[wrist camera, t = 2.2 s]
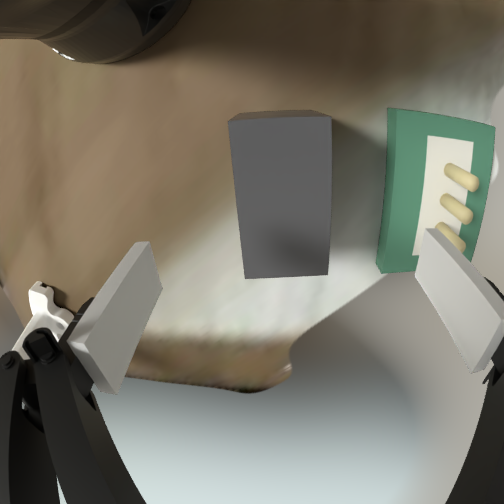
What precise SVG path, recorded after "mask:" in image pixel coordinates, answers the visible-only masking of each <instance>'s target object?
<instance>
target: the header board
mask: <svg viewBox="0 0 504 504" xmlns="http://www.w3.org/2000/svg"><path fill="white" fill-rule="evenodd" d="M494 140H495V127H493V126H490V125H487V124H484V123H479V122H475V121H470V120H466V119H461V118H456V117H451V116H445V115H439V114H433V113H427V112H420V111H412V110H404V109H395V108H388V132H387V161H386V178H385V191H384V202H383V212H382V221H381V229H380V237H379V245H378V252H377V258H376V264H377V266H378V268H379V270H380V272H381V274H383V273H396V272H409V271H416V268H417V264H418V259H419V255H420V250H421V245H422V240H423V235H424V229H425V228H437V229H438V230H439V231H441V232H442V233H443V234H444V235H445V236H446V237H447V238H448V239H449V240H450V241H451V242H452V243H453V245H454V246H455V247H456V248H457V249H458V250H459V251H460V252H461V253H462V254H463V255H464V256H465V257H466V258H467V259H468V260H469V261H470V263H471V260H472V257H473V253H474V250H475V246H476V243H477V239H478V235H479V231H480V227H481V223H482V219H483V214H484V209H485V204H486V199H487V194H488V188H489V182H490V176H491V168H492V160H493V151H494Z"/></svg>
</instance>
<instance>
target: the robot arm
mask: <svg viewBox="0 0 504 504" xmlns="http://www.w3.org/2000/svg"><path fill="white" fill-rule="evenodd" d="M190 1H191V0H0V39H37V40H40V41H41V42H43V43H45V44H46V45H48V46H50V47H51V48H52V49H53V50H54V51H55V52H57V53H58V54H59V55H61V56H63V57H64V58H66V59H69V60H72V61H76V62H81V63H94V64H103V63H111V62H116V61H120V60H123V59H126V58H128V57H131V56H133V55H135V54H137V53H139V52H141V51H143V50H145V49H146V48H148V47H149V46H151V45H152V44H154V43H155V42H156V41H158V40H159V39H160V38H161V37H163V36H164V35H165V34H166V33H167V32H168V31H169V30H170V29H171V28H172V27H173V26H174V25H175V24H176V23H177V21H178V20H179V19H180V18H181V16H182V15H183V13H184V12H185V10H186V9H187V7H188V5H189V3H190ZM415 278H416V279H417V281H418V282H419V284H420V285H421V287H422V288H423V290H424V292H425V293H426V295H427V296H428V298H429V300H430V301H431V303H432V304H433V306H434V308H435V309H436V311H437V313H438V314H439V316H440V318H441V319H442V321H443V323H444V325H445V326H446V328H447V330H448V332H449V333H450V335H451V337H452V339H453V341H454V342H455V344H456V346H457V348H458V350H459V352H460V354H461V355H462V357H463V359H464V361H465V363H466V365H467V367H468V369H469V371H470V373H471V374H472V373H475V372H478V371H481V370H484V369H485V368H486V366H487V364H488V363H489V361H490V360H491V359H492V361H493V363H494V366H493V367H492V369H491V370H490V372H489V373H488V375H487V376H486V378H485V379H484V381H483V384H485V382H486V381H487V380H488V379H489V382H488V385H487V391H486V395H485V399H484V403H483V407H482V411H481V414H480V418H479V421H478V425H477V428H476V431H475V434H474V437H473V440H472V443H471V446H470V449H469V451H468V454H467V457H466V459H465V462H464V464H463V467H462V469H461V472H460V474H459V476H458V478H457V481H456V483H455V485H454V487H453V489H452V492H451V493H450V496H449V498H448V500H447V501H446V503H445V504H504V296H503V294H502V293H501V292H499V289H498V288H497V287H496V286H495V285H494V283H492V282H491V281H490V280H488V279H487V278H485V277H483V276H482V275H481V274H480V273H479V272H478V270H477V269H476V268H475V267H474V266H473V265H472V264H471V263H470V261H469V260H468V259H467V258H466V257H465V256H464V255H463V254H462V253H461V252H460V251H459V250H458V249H457V248H456V247H455V246H454V245H453V243H452V242H451V241H450V240H449V239H448V238H447V237H446V236H445V235H444V234H443V233H442V232H441V231H439V230H438V229H437V228H425V229H424V235H423V240H422V245H421V250H420V255H419V259H418V264H417V268H416V272H415ZM162 289H163V288H162V285H161V281H160V278H159V274H158V271H157V267H156V264H155V260H154V256H153V253H152V249H151V245H150V241H146V242H135V243H134V245H133V246H132V247H131V249H130V250H129V251H128V253H127V254H126V255H125V257H124V258H123V259H122V261H121V262H120V263H119V265H118V266H117V267H116V269H115V270H114V271H113V273H112V274H111V276H110V277H109V278H108V280H107V281H106V282H105V284H104V285H103V287H102V288H101V290H100V291H99V292H98V294H97V295H96V297H91V298H90V299H89V300H88V301H87V302H85V303H84V304H83V305H82V306H81V308H80V309H79V311H78V312H77V315H75V317H74V318H73V320H72V322H71V323H70V324H69V326H68V327H67V329H66V330H65V332H64V333H63V335H62V336H61V338H60V339H59V341H58V342H57V340H56V338H55V337H54V335H53V333H52V332H51V330H50V329H49V328H47V327H41V328H37V329H35V330H33V331H32V332H30V333H29V334H28V335H27V336H26V338H25V339H24V341H23V344H22V348H23V349H24V351H25V352H26V353H27V355H28V356H29V358H30V359H26V360H24V359H23V358H22V357H21V355H20V354H19V352H17V351H9V352H7V353H5V354H4V355H2V357H1V358H0V504H60V499H59V493H58V486H57V478H58V481H59V484H60V486H61V489H62V492H63V494H64V497H65V500H66V503H67V504H146V502H145V501H144V499H143V498H142V496H141V494H140V492H139V491H138V489H137V487H136V485H135V484H134V482H133V480H132V478H131V476H130V474H129V472H128V471H127V469H126V467H125V465H124V463H123V461H122V459H121V457H120V455H119V453H118V451H117V449H116V446H115V444H114V442H113V440H112V438H111V435H110V433H109V431H108V429H107V426H106V424H105V421H104V419H103V417H102V414H101V412H100V409H99V407H98V404H97V401H96V398H95V396H94V394H93V392H92V391H91V388H92V385H93V383H95V385H96V386H97V388H98V389H99V390H100V392H105V393H110V394H115V395H117V394H118V391H119V389H120V386H121V384H122V381H123V378H124V376H125V374H126V371H127V369H128V366H129V364H130V361H131V359H132V357H133V354H134V352H135V350H136V347H137V345H138V342H139V340H140V338H141V336H142V333H143V331H144V329H145V326H146V324H147V322H148V320H149V317H150V315H151V313H152V311H153V309H154V306H155V304H156V302H157V300H158V298H159V295H160V293H161V291H162ZM22 402H23V403H24V404H25V407H24V409H22Z"/></svg>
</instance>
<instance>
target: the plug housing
mask: <svg viewBox="0 0 504 504" xmlns="http://www.w3.org/2000/svg"><path fill="white" fill-rule="evenodd" d="M228 127H229V137H230V146H231V156H232V166H233V175H234V184H235V194H236V203H237V212H238V221H239V230H240V240H241V248H242V257H243V266H244V275H245V279H256V278H279V277H299V276H318V275H328V265H329V250H330V230H331V202H332V125H331V116H328V115H325V114H322V113H319V112H316V111H313V110H286V111H264V112H250V113H239V114H238V115H236V116H235V117H233V118H232V119H230V120H229V121H228Z"/></svg>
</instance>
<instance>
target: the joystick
mask: <svg viewBox="0 0 504 504" xmlns="http://www.w3.org/2000/svg"><path fill="white" fill-rule="evenodd" d="M53 294H54V291H53V289H52V288H51V287H49V286H47V288H44V287H42V282H40V281H37V282H36V283H35V284H34V285H33V286H32V288H31V289H30V290H29V301H30V306H31V310H32V313H33V317H32V319H31V320H30V322H29V323H28V325H27V326H26V328H25V329H24V331H23V333H22V334H21V336H20V338H19V339H18V341H17V343H16V344H15V346H14V347H13V349H12V351H17V352H19V354H20V355H21V357H22V358H23V359H24V360H26V359H30V358H29V356H28V355H27V353H26V352H25V351H24V349H23V348H22V344H23V341H24V339H25V338H26V336H27V335H28V334H29V333H30V332H32V331H33V330H35V329H37V328H41V327H47V328H49V329H50V330H51V332H52V333H53V335H54V337H55V338H56V340H57V342H58V341H59V339H60V338H61V336H62V335H63V333H64V332H65V330H66V329H67V327H68V326H69V324H70V323H71V322H72V320H73V318H74V316H73V314H72V313H71V312H70V311H68V310H67V309H64V308H59V307H57V306H56V305H55V304H54V302H53Z"/></svg>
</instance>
